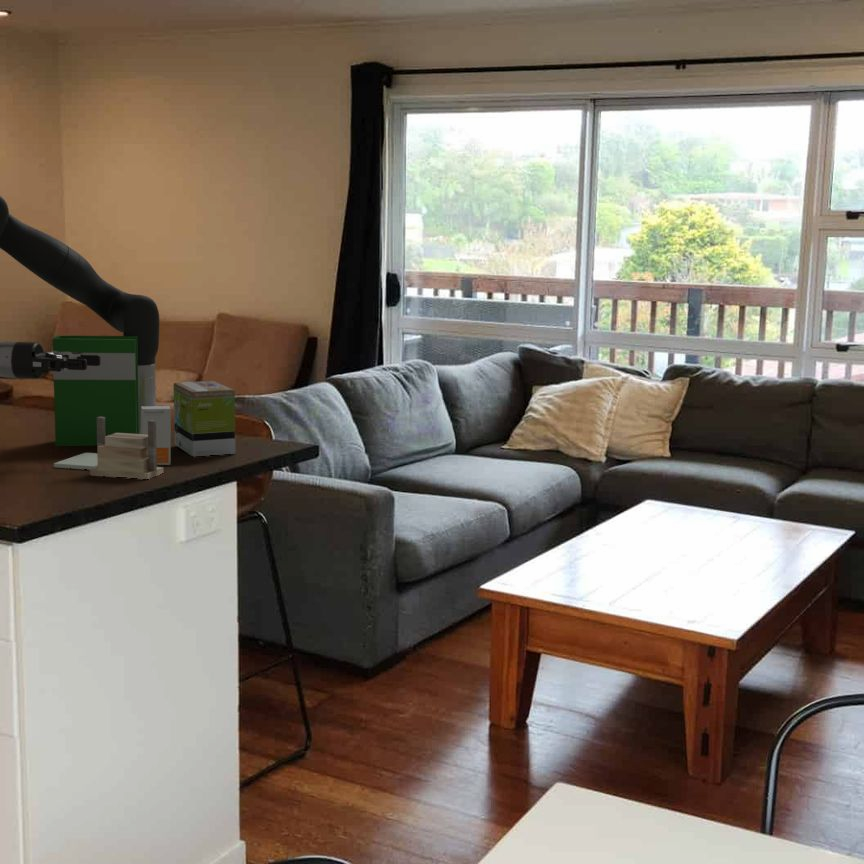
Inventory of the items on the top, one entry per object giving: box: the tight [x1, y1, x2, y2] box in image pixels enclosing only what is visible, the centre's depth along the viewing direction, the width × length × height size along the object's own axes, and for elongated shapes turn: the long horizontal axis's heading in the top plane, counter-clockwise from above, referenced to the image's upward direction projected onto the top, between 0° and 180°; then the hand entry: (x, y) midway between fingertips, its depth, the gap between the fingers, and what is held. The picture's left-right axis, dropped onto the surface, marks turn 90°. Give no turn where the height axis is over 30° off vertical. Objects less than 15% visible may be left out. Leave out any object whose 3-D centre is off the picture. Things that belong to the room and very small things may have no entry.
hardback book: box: [52, 334, 139, 447], centre depth 273 cm, size 18×7×24 cm, turn 99°
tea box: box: [173, 380, 236, 458], centre depth 268 cm, size 15×10×15 cm, turn 27°
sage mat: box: [53, 452, 98, 471], centre depth 252 cm, size 13×9×1 cm
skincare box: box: [141, 405, 172, 466], centre depth 252 cm, size 6×4×12 cm
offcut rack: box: [89, 417, 165, 480], centre depth 241 cm, size 7×12×11 cm, turn 77°
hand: (93, 362), depth 251 cm, fingers open, 8 cm apart
